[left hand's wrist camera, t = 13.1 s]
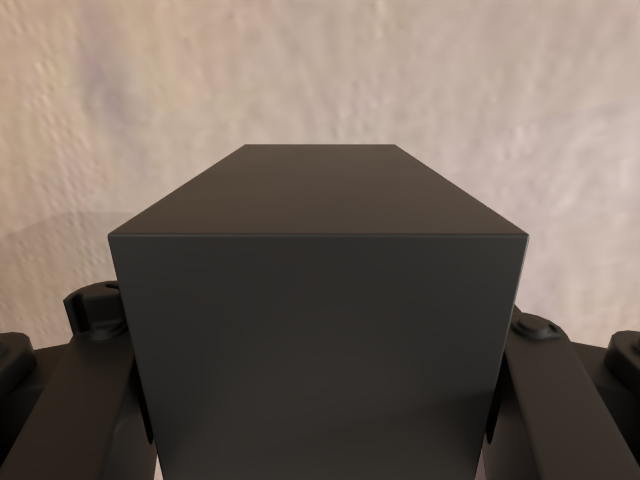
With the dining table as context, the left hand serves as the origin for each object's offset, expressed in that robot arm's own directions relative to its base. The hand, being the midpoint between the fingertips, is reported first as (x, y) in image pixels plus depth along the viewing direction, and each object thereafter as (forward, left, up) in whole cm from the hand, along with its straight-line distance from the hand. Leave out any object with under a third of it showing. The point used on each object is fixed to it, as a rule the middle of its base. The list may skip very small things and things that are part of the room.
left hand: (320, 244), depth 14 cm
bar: (+8, +2, -1) cm, 8 cm away
